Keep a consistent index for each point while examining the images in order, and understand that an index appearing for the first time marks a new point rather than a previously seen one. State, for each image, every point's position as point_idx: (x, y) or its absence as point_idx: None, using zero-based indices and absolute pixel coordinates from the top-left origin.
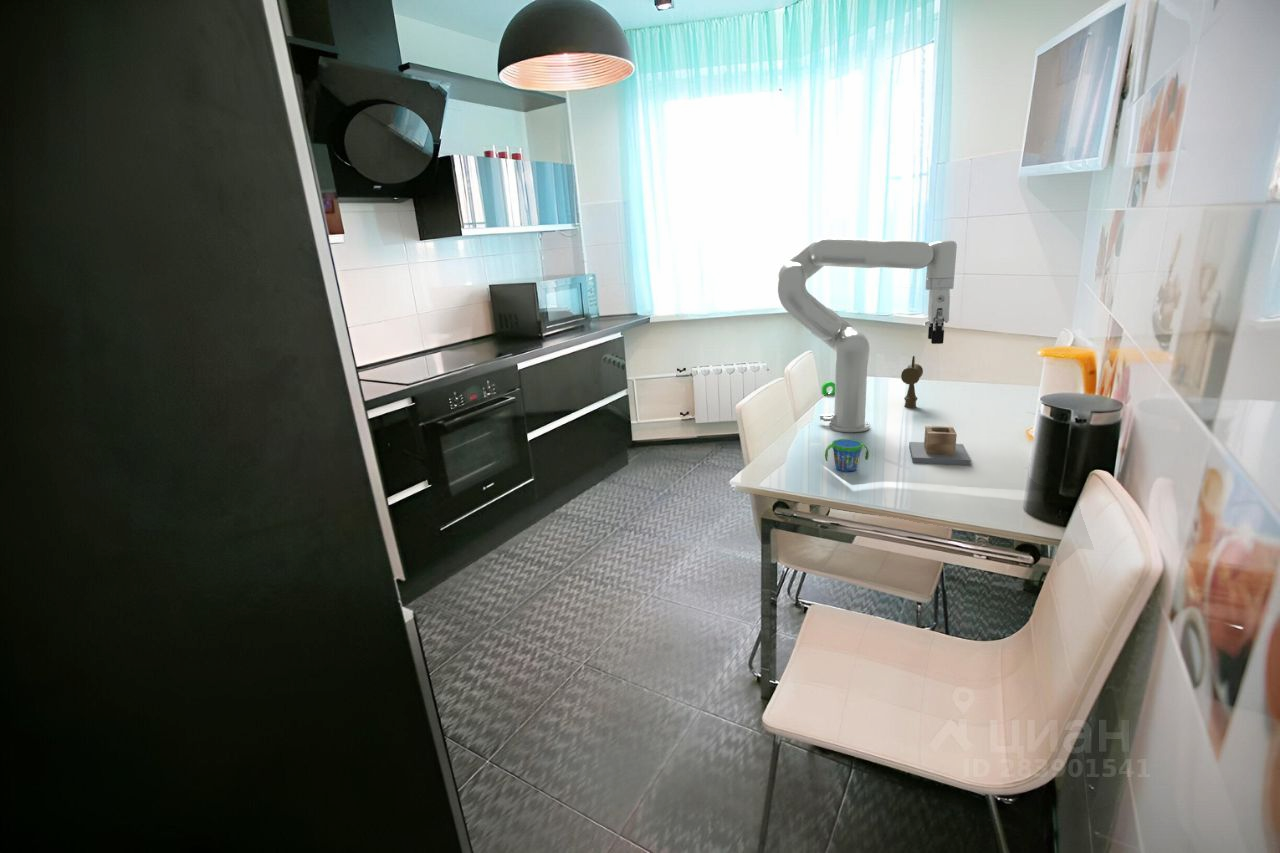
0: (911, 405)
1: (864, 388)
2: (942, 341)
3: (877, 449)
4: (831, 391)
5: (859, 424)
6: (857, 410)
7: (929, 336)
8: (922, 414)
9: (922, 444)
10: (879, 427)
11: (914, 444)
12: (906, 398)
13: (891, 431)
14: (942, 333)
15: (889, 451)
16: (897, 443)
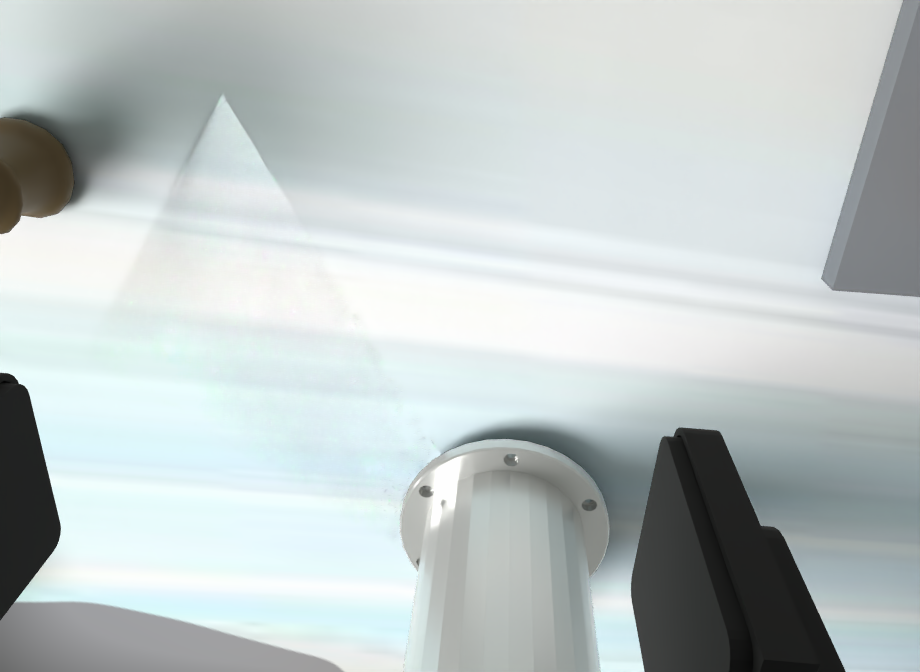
0: (36, 177)
1: (559, 664)
2: (724, 462)
3: (850, 425)
4: None
5: (570, 509)
6: (585, 582)
7: (32, 559)
8: (94, 96)
9: (896, 228)
10: (445, 376)
11: (890, 271)
12: (6, 227)
13: (522, 327)
14: (778, 615)
15: (891, 378)
16: (755, 326)
